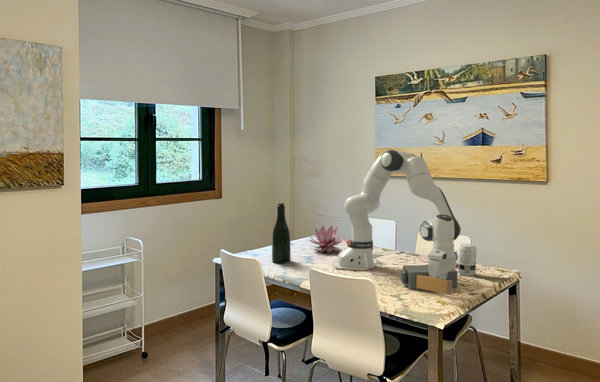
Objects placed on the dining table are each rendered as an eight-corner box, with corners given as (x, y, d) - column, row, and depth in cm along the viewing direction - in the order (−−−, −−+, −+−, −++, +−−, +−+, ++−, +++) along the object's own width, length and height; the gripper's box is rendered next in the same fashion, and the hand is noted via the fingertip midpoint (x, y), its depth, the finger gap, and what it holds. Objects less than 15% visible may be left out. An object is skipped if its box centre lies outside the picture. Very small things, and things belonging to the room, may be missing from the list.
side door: (415, 288, 220) (415, 275, 219) (417, 287, 221) (417, 274, 221) (450, 295, 210) (450, 281, 209) (451, 294, 211) (452, 280, 211)
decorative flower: (301, 251, 299) (301, 226, 297) (325, 246, 313) (325, 222, 312) (326, 257, 283) (326, 231, 281) (350, 251, 297) (351, 227, 296)
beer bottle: (282, 264, 266) (282, 204, 263) (268, 261, 272) (267, 203, 269) (294, 260, 274) (294, 202, 271) (280, 258, 281) (279, 201, 277)
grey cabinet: (406, 289, 221) (406, 272, 221) (399, 282, 233) (399, 265, 232) (457, 288, 223) (457, 271, 222) (447, 281, 235) (448, 264, 234)
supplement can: (455, 272, 250) (456, 243, 249) (471, 272, 251) (472, 243, 249) (462, 276, 242) (463, 247, 241) (478, 276, 243) (479, 246, 241)
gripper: (447, 247, 223) (446, 276, 225) (426, 255, 208) (425, 286, 210) (460, 249, 219) (459, 279, 221) (439, 257, 204) (439, 289, 205)
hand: (442, 282), depth 215 cm, fingers closed
